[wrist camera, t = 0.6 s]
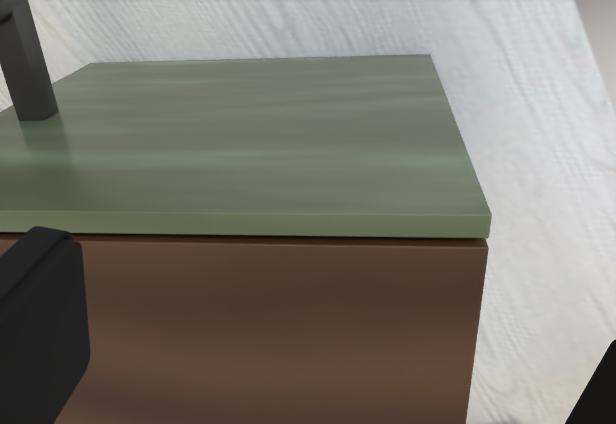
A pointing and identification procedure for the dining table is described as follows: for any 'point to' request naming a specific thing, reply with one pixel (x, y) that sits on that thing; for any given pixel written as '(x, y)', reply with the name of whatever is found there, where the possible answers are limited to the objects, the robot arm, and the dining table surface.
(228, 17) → the dining table surface
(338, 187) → the cabinet door
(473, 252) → the cabinet
